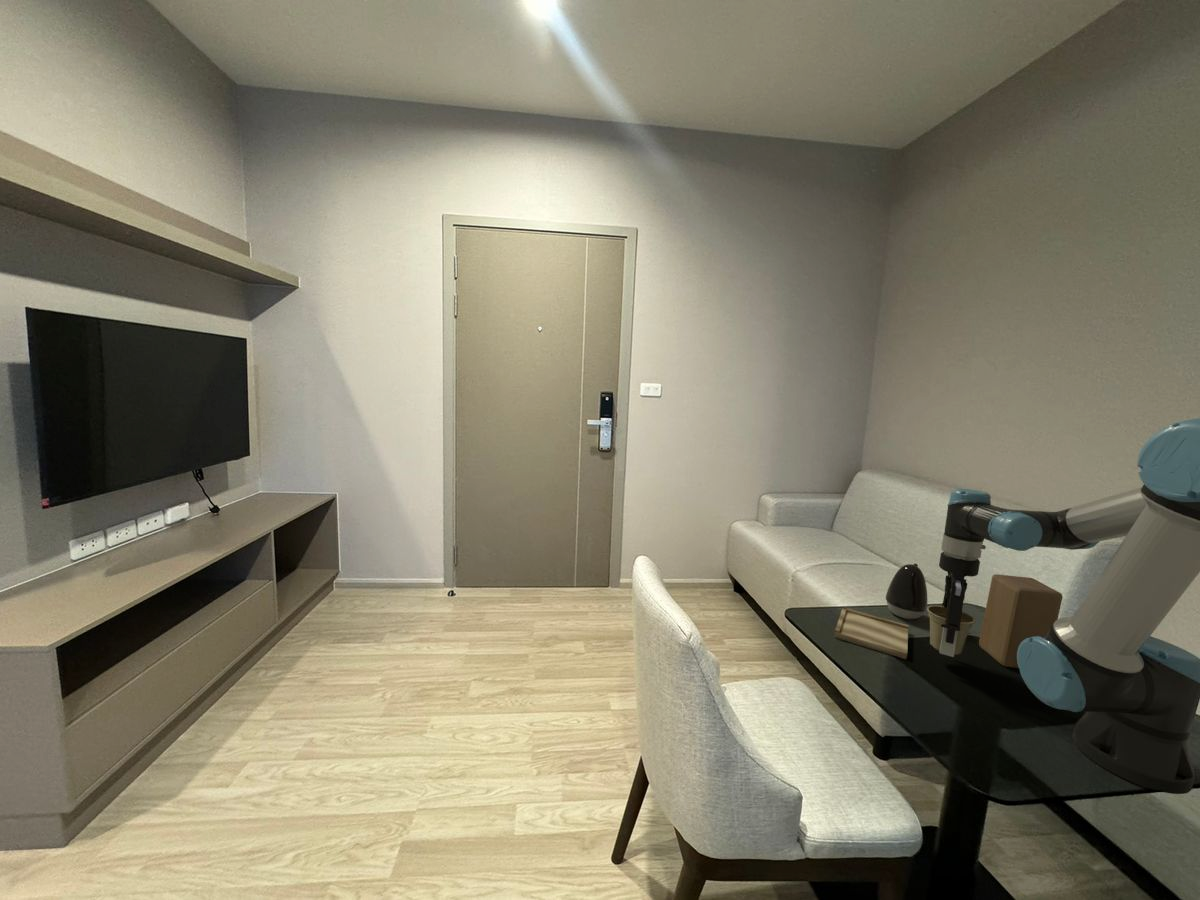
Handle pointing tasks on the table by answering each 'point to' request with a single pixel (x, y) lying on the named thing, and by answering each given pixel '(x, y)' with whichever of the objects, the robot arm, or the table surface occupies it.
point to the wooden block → (1016, 615)
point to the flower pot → (938, 618)
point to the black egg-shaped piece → (907, 593)
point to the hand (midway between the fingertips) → (945, 646)
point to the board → (873, 632)
